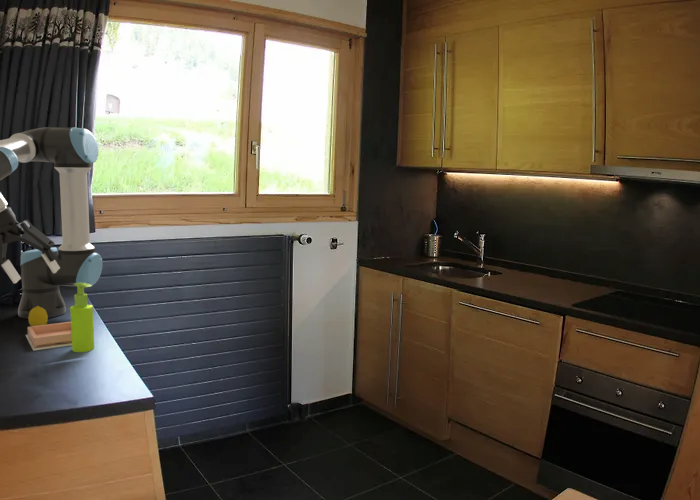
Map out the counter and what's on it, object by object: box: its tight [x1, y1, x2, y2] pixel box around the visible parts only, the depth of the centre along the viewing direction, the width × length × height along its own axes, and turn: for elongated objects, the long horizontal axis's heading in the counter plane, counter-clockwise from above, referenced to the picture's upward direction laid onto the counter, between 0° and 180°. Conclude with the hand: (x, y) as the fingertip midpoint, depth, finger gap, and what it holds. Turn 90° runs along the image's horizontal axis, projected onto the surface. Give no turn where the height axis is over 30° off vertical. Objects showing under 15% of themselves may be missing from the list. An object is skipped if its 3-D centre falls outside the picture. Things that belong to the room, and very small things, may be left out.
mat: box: [25, 334, 72, 351], centre depth 189 cm, size 18×15×1 cm
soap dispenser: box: [69, 282, 95, 353], centre depth 178 cm, size 6×7×20 cm
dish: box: [27, 321, 72, 348], centre depth 189 cm, size 14×14×3 cm
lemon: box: [28, 306, 49, 327], centre depth 199 cm, size 6×6×8 cm
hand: (37, 276), depth 179 cm, fingers open, 13 cm apart
